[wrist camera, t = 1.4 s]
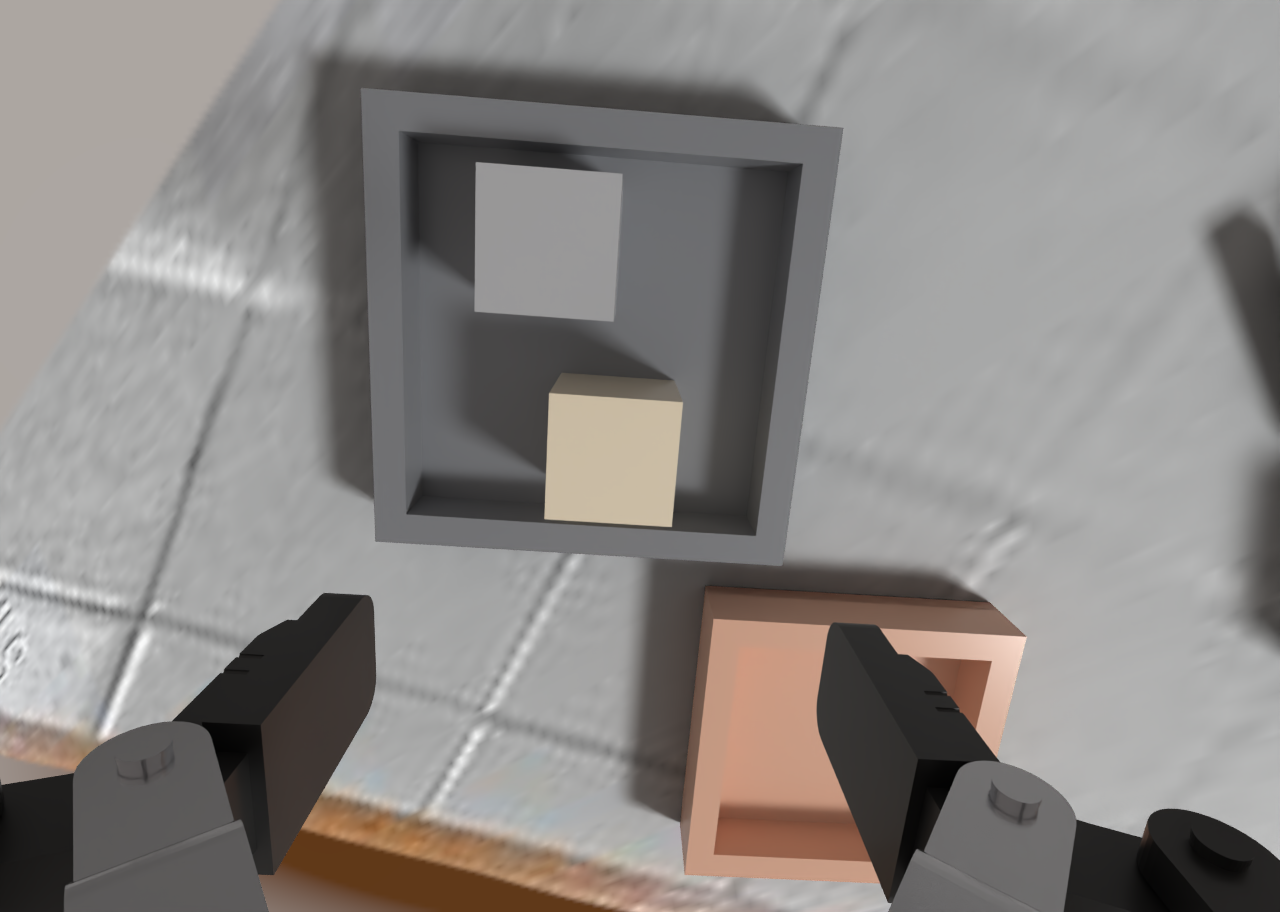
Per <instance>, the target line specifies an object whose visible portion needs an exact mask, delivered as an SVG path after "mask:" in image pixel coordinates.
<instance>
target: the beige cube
mask: <svg viewBox="0 0 1280 912" xmlns="http://www.w3.org/2000/svg"><path fill="white" fill-rule="evenodd" d="M682 408H683V401H682V398H681V396H680V393H679V391H678V388H677V386H676V383H675V381H674V380H660V379H645V378H631V377H617V376H602V375H588V374H573V373H561V375H560V376H559V378H558V379H557V381H556V383H555V384H554V386H553V388H552V389H551V391H550V393H549V410H548V436H547V463H546V489H545V516H544V519H549V520H565V521H582V522H598V523H614V524H630V525H646V526H662V527H672V519H673V508H674V497H675V486H676V475H677V464H678V453H679V442H680V430H681V419H682Z"/></svg>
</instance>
